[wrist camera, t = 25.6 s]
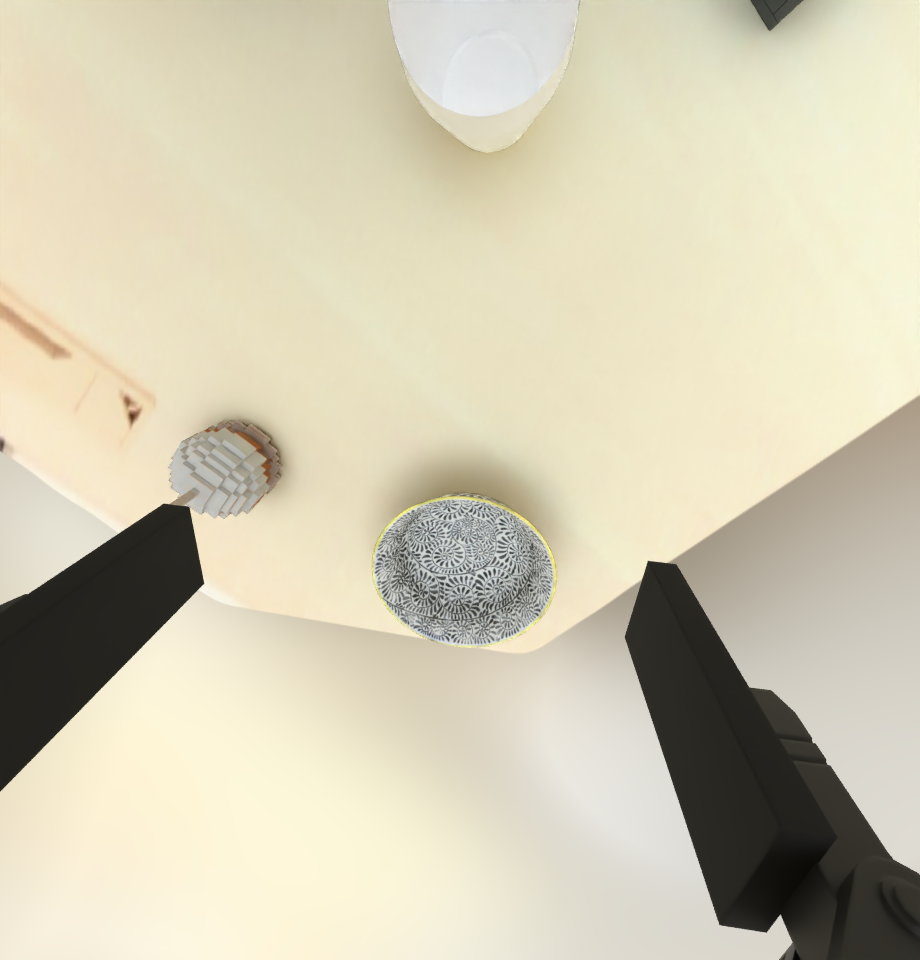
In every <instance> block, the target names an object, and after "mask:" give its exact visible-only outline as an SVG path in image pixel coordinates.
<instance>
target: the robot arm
mask: <svg viewBox="0 0 920 960" xmlns="http://www.w3.org/2000/svg"><path fill="white" fill-rule="evenodd" d="M203 584H204V580H203V575H202V570H201V565H200V560H199V554H198V549H197V544H196V539H195V534H194V529H193V524H192V518H191V513H190V508H189V507H188V506H179V505H171V504H163V505H161V506H160V507H158V508H157V509H155V510H154V511H152V512H151V513H149V514H148V515H146V516H145V517H143V518H142V519H140V520H139V521H137V522H136V523H134V524H133V525H131V526H130V527H128V528H127V529H125V530H124V531H122V532H121V533H119V534H118V535H116V536H115V537H113V538H112V539H110V540H109V541H107V542H106V543H104V544H103V545H101V546H100V547H98V548H97V549H95V550H94V551H92V552H91V553H89V554H88V555H86V556H85V557H83V558H82V559H80V560H79V561H77V562H76V563H74V564H73V565H71V566H70V567H68V568H67V569H65V570H64V571H62V572H61V573H59V574H58V575H56V576H55V577H53V578H52V579H50V580H49V581H47V582H46V583H44V584H43V585H41V586H40V587H38V588H37V589H35V590H34V591H32V592H31V593H29V594H25V595H22V596H20V597H18V598H15V599H13V600H11V601H8V602H6V603H4V604H2V605H0V791H1V790H2V789H3V788H4V787H5V786H6V785H7V784H8V783H9V782H10V781H11V780H12V779H13V778H14V777H15V776H16V775H17V774H18V773H19V772H20V771H21V770H22V769H23V768H24V767H25V766H26V765H27V764H28V763H29V762H30V761H31V760H32V759H33V758H34V757H35V756H36V755H37V754H38V752H40V750H42V748H43V747H44V746H45V745H46V744H47V743H48V742H49V741H50V740H51V739H52V738H53V737H54V736H55V735H56V734H57V733H58V732H59V731H60V730H61V729H62V728H63V727H64V726H65V725H66V724H67V723H68V722H69V721H70V720H71V719H72V718H73V717H74V716H75V715H76V714H77V713H78V712H79V711H80V710H81V709H82V708H83V707H84V705H85V704H87V703H88V702H89V700H91V699H92V697H93V696H94V695H95V694H96V693H97V692H98V691H99V690H100V689H101V688H102V687H103V686H104V685H105V684H106V683H107V682H108V681H109V680H110V679H111V678H112V677H113V676H114V675H115V674H116V673H117V672H118V671H119V670H120V669H121V668H122V667H123V666H124V665H125V664H126V663H127V662H128V661H129V660H130V659H131V658H132V657H133V656H134V655H135V654H136V653H137V651H139V649H141V648H142V646H143V645H144V644H145V643H146V642H147V641H148V640H149V639H150V638H151V637H152V636H153V635H154V634H155V633H156V632H157V631H158V630H159V629H160V628H161V627H162V626H163V625H164V624H165V623H166V622H167V621H168V620H169V619H170V618H171V617H172V616H173V615H174V614H175V613H176V612H177V611H178V610H179V609H180V608H181V607H182V606H183V605H184V603H186V601H188V600H189V599H190V598H191V596H192V595H193V594H194V593H195V592H196V591H197V590H198V589H199V588H200V587H201V586H202V585H203ZM625 639H626V642H627V645H628V648H629V651H630V654H631V657H632V661H633V664H634V667H635V670H636V672H637V676H638V679H639V682H640V685H641V688H642V691H643V694H644V697H645V700H646V703H647V706H648V709H649V712H650V715H651V718H652V721H653V724H654V727H655V730H656V733H657V736H658V739H659V742H660V745H661V749H662V752H663V755H664V758H665V761H666V764H667V767H668V770H669V773H670V776H671V779H672V782H673V785H674V788H675V791H676V794H677V797H678V800H679V803H680V806H681V809H682V812H683V815H684V818H685V821H686V824H687V828H688V831H689V834H690V837H691V839H692V842H693V846H694V849H695V852H696V855H697V858H698V861H699V864H700V867H701V870H702V873H703V876H704V879H705V882H706V885H707V888H708V891H709V894H710V897H711V900H712V903H713V907H714V910H715V913H716V916H717V918H718V921H719V925H722V926H728V927H735V928H741V929H748V930H754V931H760V932H767V931H768V930H769V929H770V927H771V926H772V925H773V923H774V922H775V921H776V919H777V918H778V917H779V915H780V914H781V916H782V919H783V921H784V923H785V925H786V928H787V930H788V932H789V935H790V937H791V939H792V942H793V943H792V944H791V946H790V947H789V948H788V949H787V951H786V952H785V953H784V954H783V955H782V957H781V958H780V959H779V960H920V875H919V874H918V873H917V872H915V871H913V870H911V869H910V868H908V867H906V866H904V865H902V864H900V863H899V862H897V861H895V860H893V858H892V857H891V856H890V855H889V853H888V852H887V850H886V849H885V848H884V846H883V845H882V843H881V842H880V840H879V838H878V837H877V835H876V834H875V832H874V831H873V829H872V828H871V826H870V825H869V823H868V822H867V820H866V819H865V817H864V816H863V814H862V813H861V811H860V810H859V808H858V807H857V805H856V804H855V802H854V801H853V799H852V798H851V796H850V795H849V793H848V792H847V790H846V789H845V787H844V786H843V784H842V783H841V781H840V780H839V778H838V777H837V775H836V774H835V772H834V771H833V769H832V767H831V766H829V765H827V763H826V758H825V757H824V755H823V754H822V752H821V751H820V750H819V748H818V746H817V745H816V744H815V743H813V742H812V737H811V736H810V734H809V733H808V731H807V730H806V728H805V727H804V725H803V724H802V722H801V721H800V719H799V718H798V716H797V715H796V713H795V712H794V711H793V710H792V709H791V708H790V707H788V706H787V705H786V704H785V703H784V702H783V701H782V700H781V699H780V698H779V697H778V696H777V695H776V694H774V692H772V691H771V690H764V689H756V688H749V686H748V685H747V683H746V681H745V680H744V678H743V676H742V675H741V673H740V671H739V670H738V668H737V666H736V664H735V663H734V661H733V659H732V658H731V656H730V654H729V653H728V651H727V649H726V648H725V646H724V644H723V642H722V641H721V639H720V637H719V636H718V634H717V632H716V631H715V629H714V628H713V626H712V624H711V622H710V621H709V619H708V617H707V616H706V614H705V612H704V610H703V609H702V607H701V605H700V604H699V602H698V600H697V598H696V597H695V595H694V593H693V592H692V590H691V588H690V587H689V585H688V583H687V582H686V580H685V578H684V577H683V575H682V573H681V571H680V570H679V568H678V567H677V565H676V564H669V563H661V562H653V561H648V563H647V566H646V569H645V573H644V576H643V579H642V582H641V586H640V589H639V592H638V596H637V599H636V602H635V605H634V608H633V612H632V615H631V618H630V622H629V625H628V628H627V631H626V635H625Z"/></svg>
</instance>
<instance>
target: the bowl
mask: <svg viewBox="0 0 920 960" xmlns="http://www.w3.org/2000/svg"><path fill="white" fill-rule="evenodd" d="M372 574H373V579H374V583H375V587H376V590H377V592H378V594H379V596H380V598H381V600H382V602H383V603H384V605H385V606H386V607H387V609H388V610H389V611H390V613H391V614H392V615H393V616H394V617H395V618H396V619H397V620H398V621H399V622H401V623H402V624H403V625H404V626H406V627H407V628H408V629H410V630H412V631H413V632H415V633H416V634H418V635H420V636H422V637H424V638H427V639H429V640H431V641H435V642H438V643H441V644H445V645H450V646H456V647H485V646H491V645H496V644H500V643H503V642H506V641H508V640H511V639H513V638H515V637H517V636H519V635H521V634H522V633H524V632H525V631H527V630H528V629H530V628H531V627H532V626H533V625H534V624H536V622H537V621H539V620H540V618H541V617H542V616H543V615H544V613H545V612H546V610H547V609H548V607H549V605H550V603H551V601H552V599H553V596H554V592H555V588H556V578H557V574H556V565H555V561H554V558H553V555H552V552H551V550H550V548H549V546H548V544H547V542H546V541H545V539H544V538H543V536H542V535H541V534H540V533H539V531H538V530H537V529H536V528H535V527H534V526H533V525H532V524H531V523H530V522H528V521H527V520H526V519H525V518H523V517H522V516H521V515H519V514H518V513H516V512H515V511H513V510H512V509H511V508H509V507H508V506H506V505H505V504H503V503H501V502H499V501H497V500H495V499H492V498H489V497H486V496H483V495H478V494H472V493H455V494H448V495H443V496H440V497H436V498H434V499H431V500H427V501H424V502H421V503H419V504H416V505H414V506H412V507H410V508H408V509H407V510H405V511H403V512H402V513H400V514H399V515H398V516H397V517H395V518H394V519H393V520H392V521H391V522H390V523H389V524H388V525H387V526H386V528H385V529H384V530H383V532H382V533H381V535H380V536H379V538H378V540H377V543H376V545H375V549H374V553H373V559H372Z"/></svg>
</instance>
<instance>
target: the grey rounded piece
mask: <svg viewBox="0 0 920 960" xmlns="http://www.w3.org/2000/svg"><path fill="white" fill-rule="evenodd" d="M270 440H271V438H269V437H268V436H267V435H265V434H264V433H263V432H261V431H260V430H259V429H258V428H256V427H255V426H254V425H252V424H250V425H248V426H245V425H244V424H243V423H241V422H240V421H239V420H238V421H236V422H235V423H233V422H232V421H229V422H227V423H225V422H223V421H222V422H220V423H219V424H218V426H217V427H216V428H215V427H213V426H211V427H209V428H208V429H206V430H204V431H202V432H200V433H199V434H198V433H197V434H195V435H193V436H191V437H189V438H187V439H185V440H183V441H182V442H181V443H180V445H179V447H178V448H177V450H176V452H175V453H174V455H173V457H172V458H171V459H172V460H173V461H172V462H171V464H170V466H169V467H168V468H169V469H171V470H172V471H171V473H170V475H171V477H170V479H169V481H170V482H172V485H171V486H170V487H171V488H172V489H173V490H175V491H176V492H178V493H179V496H178V497H177V498H178V499H176V500H175V501H174V502H172V503H171V505H179V506H184V505H185V504H186V505H187V506H189V507H190V508H192V509H193V510H195V511H196V512H198V513H199V514H203V513H204V512H206V513H208V514H209V515H211V516H212V517H214V518H216V517H217V516H218V515H219V516H220V517H222V518H223V519H224V518H226V517H227V516H228V515H229V514H233V515H234V516H237V515H238V514H240V513H241V512H242V511H244V512H245V513H248V512H249V511H251V510H252V509H253V508H254V506H255V505H256V504H257V503H258V502H259V501H260V499H261V498H262V497H263V495H264V494H265V493H267V494H268V493H269V492H270V491H271V489H272V488H273V487H274V485H275V484H276V483H277V481H278V480H279V479H280V477H281V476H279V475H278V474H277V471H278V470H279V469H280V467H281V466H282V465H281V464H279V463H278V462H277V461H278V460H279V459H280V458H279V457H278V456H277V455H275V454H276V452H277V451H278V450H277V449H276V448H274V447H273V446H272V445H270V444H269V441H270Z"/></svg>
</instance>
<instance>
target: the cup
mask: <svg viewBox="0 0 920 960" xmlns="http://www.w3.org/2000/svg"><path fill="white" fill-rule="evenodd" d="M388 4H389V15H390V22H391V27H392V32H393V36H394V39H395V43H396V46H397V49H398V52H399V55H400V58H401V61H402V65H403V68H404V71H405V75H406V77H407V80H408V82H409V84H410V86H411V88H412V90H413V92H414V94H415V96H416V97H417V99H418V101H419V102H420V103H421V105H422V106H423V107H424V109H425V110H426V111H427V112H428V113H429V115H430V116H431V117H432V118H433V119H434V120H436V121H437V122H438V123H439V124H440V125H441V126H442V127H444V128H445V129H446V130H447V131H449V132H450V133H451V134H452V135H454V136H455V137H456V138H457V139H459V140H460V141H461V142H462V143H464V144H465V145H466V146H468V147H470V148H472V149H474V150H477V151H481V152H495V151H500V150H503V149H505V148H507V147H509V146H511V145H512V144H513V143H515V142H516V141H517V140H518V139H519V138H520V137H521V136H522V135H523V134H524V133H525V131H526V130H527V129H528V127H529V126H530V125H531V124H532V122H533V121H534V120H535V118H536V117H537V116H538V115H539V113H540V112H541V111H542V109H543V108H544V107H545V105H546V104H547V103H548V101H549V100H550V98H551V97H552V95H553V94H554V92H555V90H556V89H557V87H558V85H559V83H560V81H561V79H562V77H563V74H564V72H565V70H566V67H567V64H568V62H569V59H570V55H571V52H572V48H573V43H574V38H575V30H576V21H577V16H578V11H579V5H580V0H388Z"/></svg>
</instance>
